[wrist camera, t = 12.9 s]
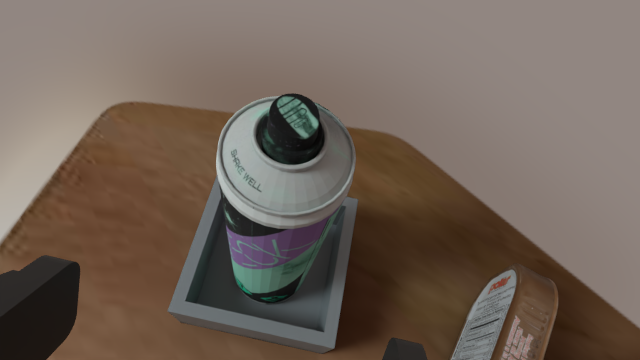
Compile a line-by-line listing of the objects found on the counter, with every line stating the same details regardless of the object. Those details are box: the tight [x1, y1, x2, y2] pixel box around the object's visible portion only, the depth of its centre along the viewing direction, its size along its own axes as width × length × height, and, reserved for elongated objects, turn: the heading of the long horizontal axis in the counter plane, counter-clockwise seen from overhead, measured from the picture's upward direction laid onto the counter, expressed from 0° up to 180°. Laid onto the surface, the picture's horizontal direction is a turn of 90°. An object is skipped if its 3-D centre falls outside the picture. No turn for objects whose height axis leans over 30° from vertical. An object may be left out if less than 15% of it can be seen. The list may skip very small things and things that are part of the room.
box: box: [168, 175, 358, 354], centre depth 29 cm, size 11×11×5 cm
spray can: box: [216, 94, 356, 305], centre depth 22 cm, size 6×6×20 cm
